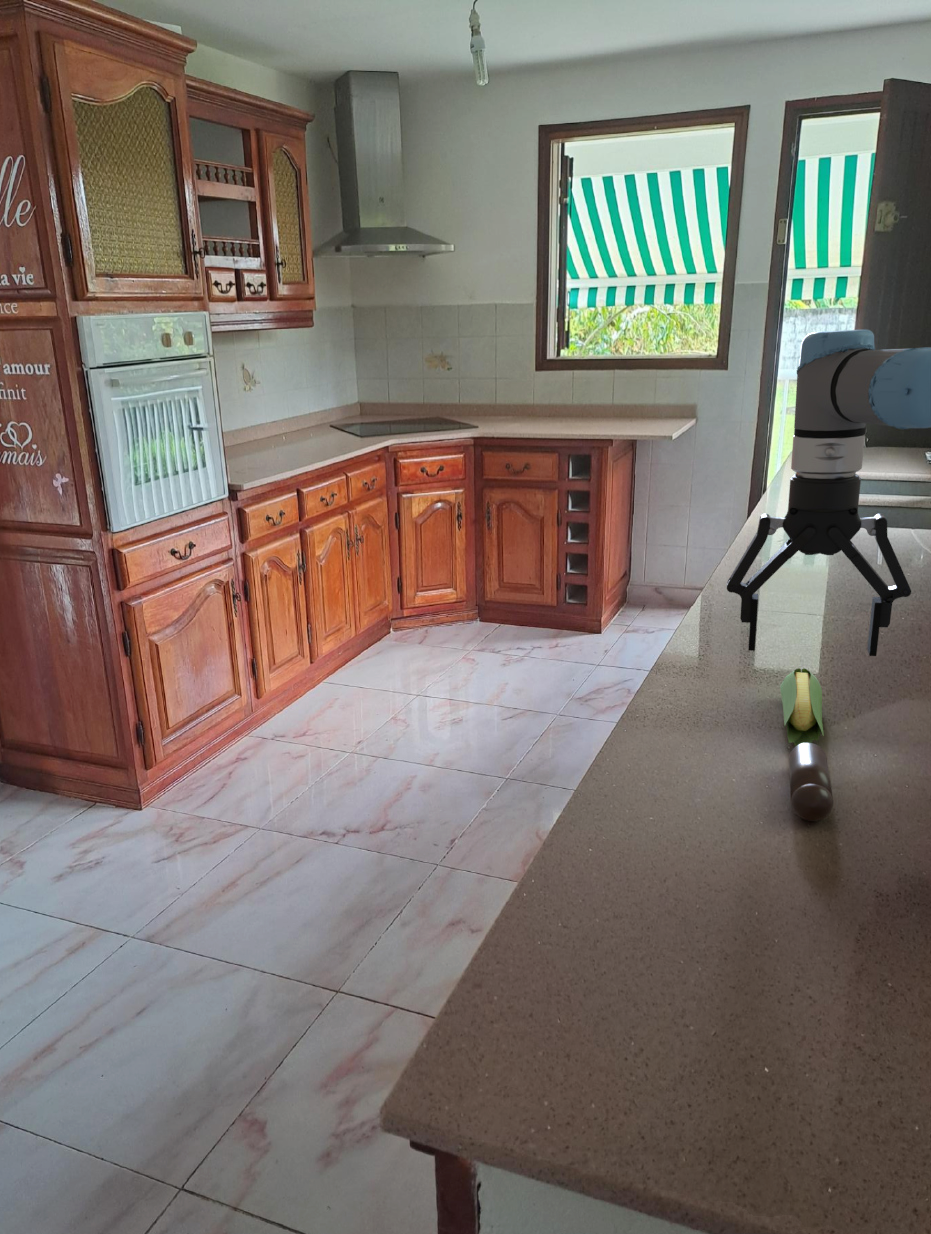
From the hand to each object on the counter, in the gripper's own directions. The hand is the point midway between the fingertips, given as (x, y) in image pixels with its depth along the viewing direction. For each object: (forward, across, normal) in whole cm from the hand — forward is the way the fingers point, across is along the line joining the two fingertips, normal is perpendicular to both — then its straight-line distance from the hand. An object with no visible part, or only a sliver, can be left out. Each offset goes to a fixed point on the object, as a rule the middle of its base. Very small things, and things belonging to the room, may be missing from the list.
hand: (810, 650), depth 118 cm
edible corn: (+10, 0, +1) cm, 10 cm away
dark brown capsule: (+10, 0, -20) cm, 22 cm away
